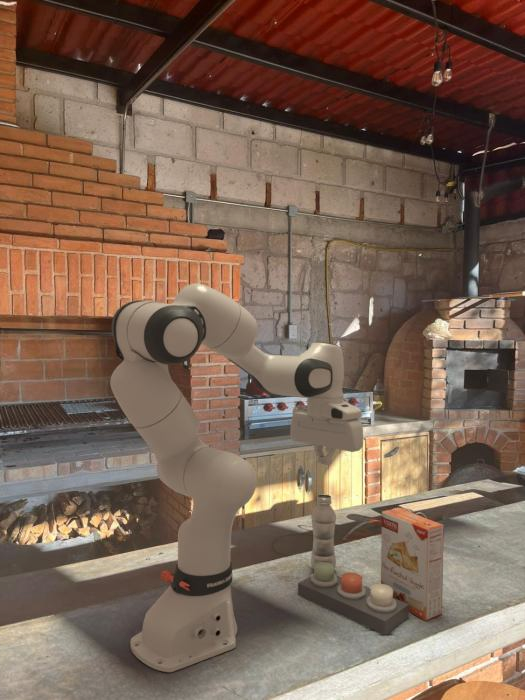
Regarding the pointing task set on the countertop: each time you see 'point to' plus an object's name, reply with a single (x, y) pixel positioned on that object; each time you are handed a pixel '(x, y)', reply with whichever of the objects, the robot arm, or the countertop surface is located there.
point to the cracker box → (413, 561)
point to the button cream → (381, 594)
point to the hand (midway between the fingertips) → (324, 463)
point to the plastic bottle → (323, 531)
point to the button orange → (351, 582)
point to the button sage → (324, 571)
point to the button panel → (354, 604)
